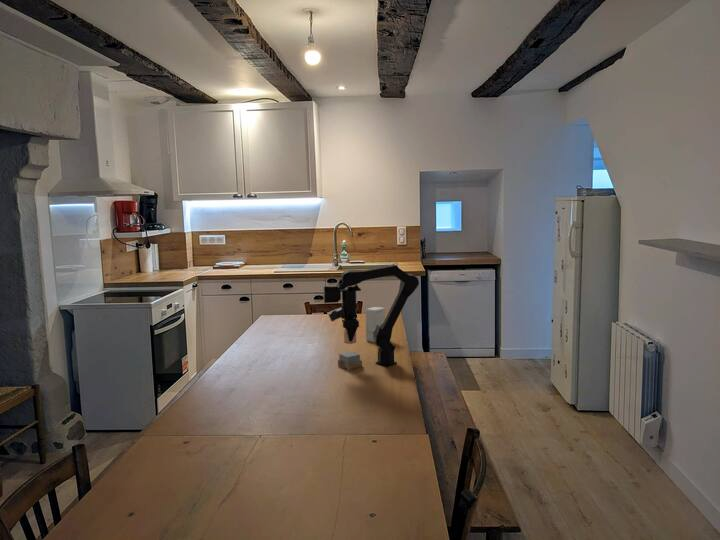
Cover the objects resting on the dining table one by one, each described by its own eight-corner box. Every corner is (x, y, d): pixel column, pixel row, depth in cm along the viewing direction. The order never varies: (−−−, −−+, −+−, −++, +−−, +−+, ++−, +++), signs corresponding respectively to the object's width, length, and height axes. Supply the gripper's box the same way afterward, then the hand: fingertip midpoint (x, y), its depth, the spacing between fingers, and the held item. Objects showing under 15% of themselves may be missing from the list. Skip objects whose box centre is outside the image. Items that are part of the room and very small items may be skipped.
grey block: (359, 360, 219) (359, 354, 219) (347, 363, 216) (347, 357, 215) (351, 357, 224) (351, 351, 224) (339, 359, 221) (339, 353, 220)
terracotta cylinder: (358, 342, 219) (358, 330, 219) (349, 344, 216) (349, 332, 215) (350, 339, 223) (350, 327, 222) (341, 342, 220) (341, 330, 219)
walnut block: (362, 367, 220) (362, 360, 220) (349, 370, 216) (348, 363, 215) (350, 363, 226) (350, 356, 225) (337, 367, 221) (337, 359, 221)
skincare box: (376, 343, 254) (375, 310, 252) (364, 341, 258) (364, 309, 256) (386, 339, 261) (385, 307, 259) (375, 337, 265) (374, 306, 263)
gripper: (328, 298, 226) (329, 334, 228) (329, 307, 207) (330, 346, 210) (355, 297, 227) (356, 333, 229) (358, 306, 208) (359, 345, 210)
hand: (350, 339), depth 219 cm, fingers closed on terracotta cylinder, 5 cm apart
